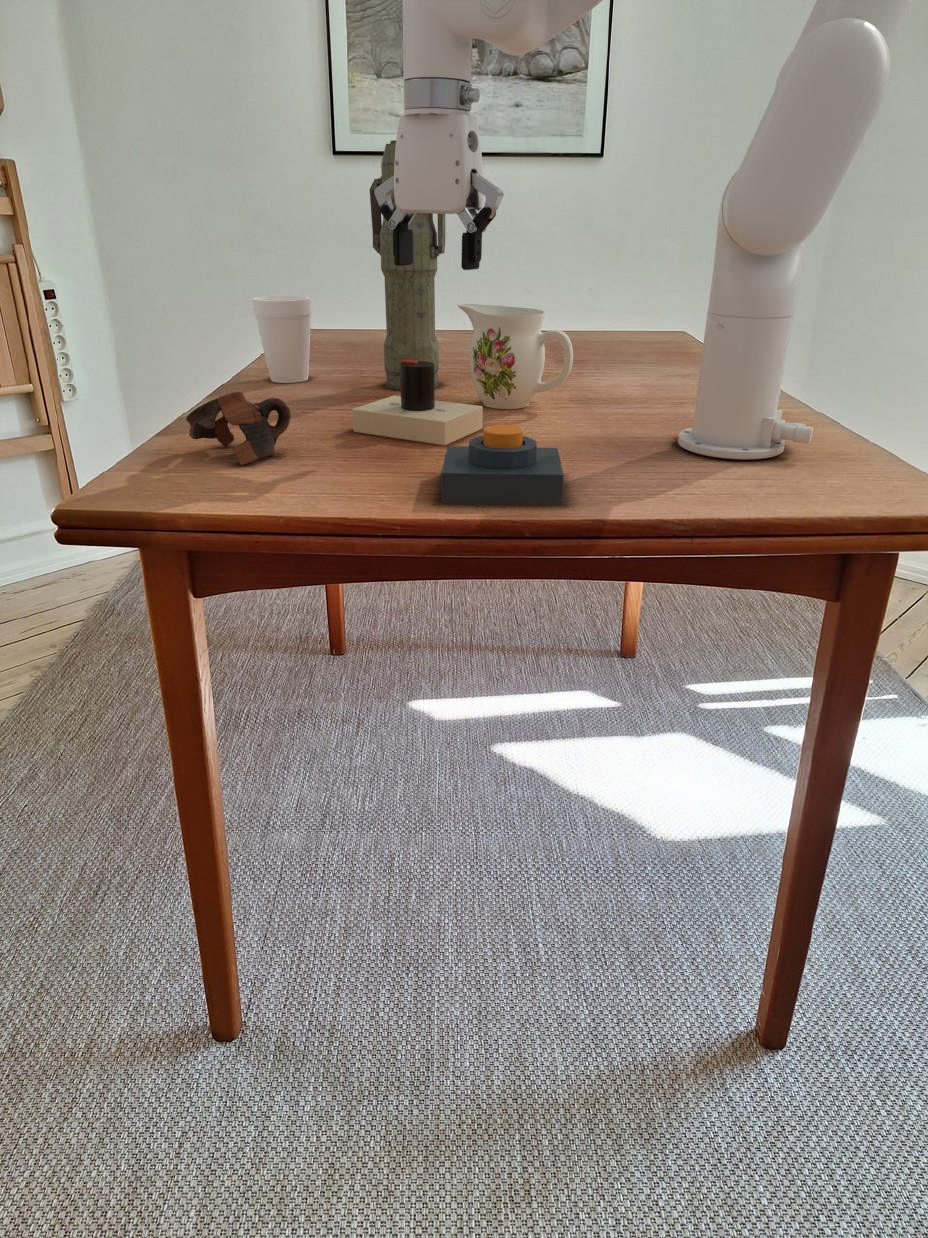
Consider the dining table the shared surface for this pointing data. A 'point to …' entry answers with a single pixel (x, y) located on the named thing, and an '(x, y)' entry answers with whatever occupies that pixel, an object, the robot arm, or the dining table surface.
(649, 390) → the dining table surface
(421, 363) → the dial
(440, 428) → the dial panel
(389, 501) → the dining table surface
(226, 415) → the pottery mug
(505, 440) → the release button
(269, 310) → the foam cup
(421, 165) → the robot arm
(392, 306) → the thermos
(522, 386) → the pitcher
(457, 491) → the button base
